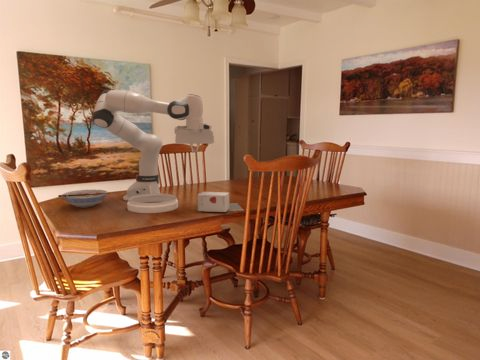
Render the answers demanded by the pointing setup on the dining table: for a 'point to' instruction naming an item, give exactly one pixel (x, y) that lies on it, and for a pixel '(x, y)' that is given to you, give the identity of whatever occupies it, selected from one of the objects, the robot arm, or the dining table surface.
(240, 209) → the grey flat slab
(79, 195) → the ramen bowl
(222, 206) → the supplement box
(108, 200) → the dining table surface
